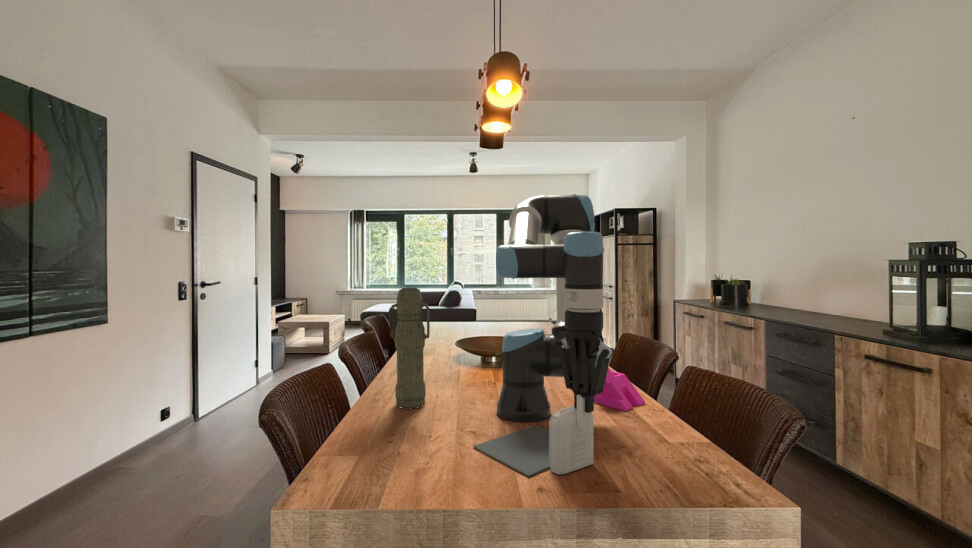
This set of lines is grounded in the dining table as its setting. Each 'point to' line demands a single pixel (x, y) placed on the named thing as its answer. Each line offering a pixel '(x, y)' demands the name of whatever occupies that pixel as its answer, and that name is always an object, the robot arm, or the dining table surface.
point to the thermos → (409, 347)
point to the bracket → (619, 392)
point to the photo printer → (569, 442)
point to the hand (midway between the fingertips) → (583, 426)
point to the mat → (520, 450)
